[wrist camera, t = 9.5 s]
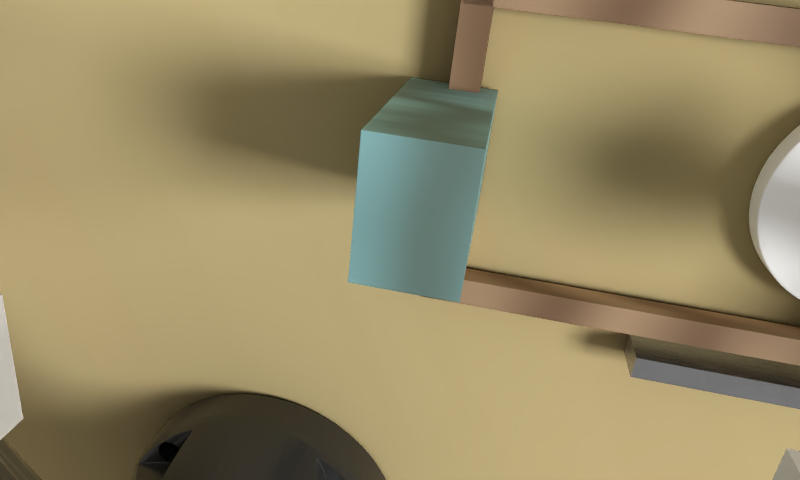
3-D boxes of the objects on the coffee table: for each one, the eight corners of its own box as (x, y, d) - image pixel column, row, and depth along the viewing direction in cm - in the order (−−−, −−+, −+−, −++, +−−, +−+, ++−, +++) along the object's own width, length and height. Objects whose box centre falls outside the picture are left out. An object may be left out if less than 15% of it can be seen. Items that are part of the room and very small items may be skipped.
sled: (388, 277, 31) (338, 393, 22) (424, -38, 25) (375, -36, 17) (952, 379, 28) (1128, 554, 20) (1140, 50, 22) (1498, 105, 14)
